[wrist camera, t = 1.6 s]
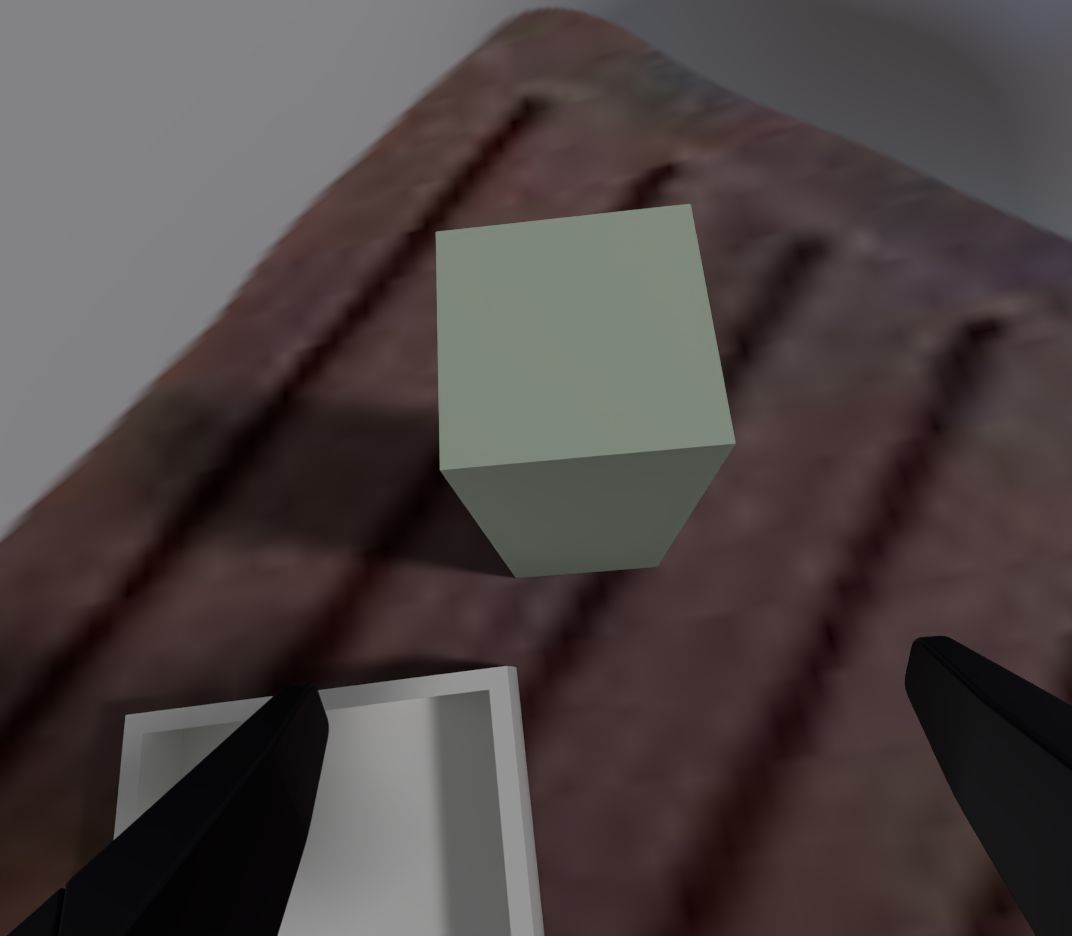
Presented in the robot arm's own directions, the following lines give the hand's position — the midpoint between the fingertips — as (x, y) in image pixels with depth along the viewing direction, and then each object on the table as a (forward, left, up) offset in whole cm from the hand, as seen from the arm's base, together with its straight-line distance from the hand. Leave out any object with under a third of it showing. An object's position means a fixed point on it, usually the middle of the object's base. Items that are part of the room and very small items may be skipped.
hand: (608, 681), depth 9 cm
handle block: (+6, +2, -12) cm, 13 cm away
